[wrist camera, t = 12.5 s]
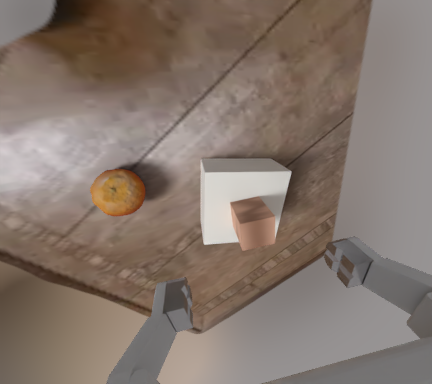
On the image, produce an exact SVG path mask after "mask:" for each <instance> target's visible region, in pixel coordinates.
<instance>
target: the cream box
mask: <svg viewBox="0 0 432 384" xmlns="http://www.w3.org/2000/svg"><path fill="white" fill-rule="evenodd" d="M291 172H292V171H290V170H289V169H287V168H285V167H284V166H282V165H281V164H279V163H277V162H276V161H274V160H273V159H271V158H207V159H201V226H202V234H203V241H204V245H206V244H218V243H231V242H239V240H238V238H237V235H236V232H235V230H234V227H233V222H232V215H231V207H230V202H234V201H239V200H243V199H248V198H253V197H257V196H259V197H260V198H261V199H262V201H263V202H264V203H265V204H266V206H267V207H268V208H269V209H270V210H271V212H272V213H273V214H274V215H275V237H276V233H277V229H278V225H279V221H280V217H281V213H282V209H283V205H284V201H285V197H286V192H287V188H288V184H289V180H290V176H291Z"/></svg>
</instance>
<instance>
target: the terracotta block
mask: <svg viewBox="0 0 432 384" xmlns="http://www.w3.org/2000/svg"><path fill="white" fill-rule="evenodd" d="M230 207H231V215H232V222H233V227H234V230H235V232H236V235H237V238H238V240H239V243H240V245H241V248H242V250H243V251H244V250H249V249H253V248H257V247H262V246H266V245H270V244H274V243H275V215H274V214H273V213H272V212H271V210H270V209H269V208H268V207H267V206H266V204H265V203H264V202H263V201H262V199H261V198H260V197H259V196H257V197H253V198H248V199H243V200H239V201H234V202H230Z"/></svg>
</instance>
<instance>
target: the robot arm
mask: <svg viewBox="0 0 432 384" xmlns="http://www.w3.org/2000/svg"><path fill="white" fill-rule="evenodd" d="M326 248H327V249H328V250H327V251H326V252H325V256H324V258H325V261H326V263H327V265H328V266H329V268H330V269H331V270H333V271H335V272H337V277H338V278H339V279H340V280H341V281H342V283H343V284H344V285H345V286H346V287H347V288H350V287H354V286H358V285H363V286H364V287H366V288H367V289H369V290H371V291H372V292H374V293H376V294H377V295H379V296H381V297H382V298H384V299H386V300H387V301H389V302H391V303H393V304H394V305H396V306H397V307H399V308H401V309H402V310H404V311H406V312H407V313H409V314H411V316H410V318H409V319H408V320H407V325H408V326H409V327H410V328H411V329H412V331H414V333H415V334H416V335H417V336H418V337H419V338H420V339H419V340H415V341H412V342H408V343H405V344H401V345H397V346H394V347H390V348H387V349H384V350H380V351H376V352H373V353H369V354H365V355H362V356H358V357H355V358H351V359H348V360H344V361H341V362H337V363H334V364H330V365H326V366H323V367H319V368H316V369H312V370H309V371H305V372H302V373H298V374H294V375H291V376H287V377H284V378H280V379H277V380H273V381H270V382H266V383H262V384H432V275H430V274H427V273H424V272H422V271H419V270H416V269H414V268H411V267H409V266H406V265H403V264H401V263H398V262H396V261H393V260H390V259H388V258H386V259H384V258H383V257H381V256H380V255H379V254H377V253H376V252H375V251H374V250H372V249H371V248H370V247H369V246H367V245H366V244H365V243H364V242H362V241H361V240H360V239H359V238H357V237H349V238H346V239H340V240H336V241H333V242H329V243H328V244H327V245H326ZM191 306H192V293H191V289H190V286H189V285H188V281H187V278H186V277H184V278H179V279H175V280H170V281H165V282H161V283H158V284H157V286H156V291H155V297H154V303H153V309H152V315H151V317H149V318H148V319H147V320H146V322H145V323H144V325H143V326H142V328H141V329H140V331H139V332H138V334H137V335H136V337H135V338H134V340H133V341H132V343H131V344H130V346H129V347H128V348H127V350H126V352H125V353H124V354H123V356H122V358H121V359H120V360H119V362H118V363H117V365H116V366H115V368H114V369H113V371H112V372H111V374H110V375H109V377H108V380H107V384H160V383H159V382H158V381H157V380H156V379H157V377H158V375H159V373H160V370H161V368H162V366H163V363H164V361H165V359H166V357H167V354H168V352H169V350H170V348H171V345H172V343H173V341H174V339H175V336H176V334H177V333H176V332H179V331H182V330H186V329H190V328H193V313H192V310H191Z"/></svg>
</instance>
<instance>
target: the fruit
mask: <svg viewBox="0 0 432 384" xmlns="http://www.w3.org/2000/svg"><path fill="white" fill-rule="evenodd" d="M90 191H91V194H92V201H93V203H94V204H95V205H96V206H98V207H99V208H100V209H101V210H102V211H103V212H104V213H106V214H107V215H111V216H123V215H128V214H131V213H133V212H135V211H137V210H138V209H139V208H140V207H141V206H142V204H143V201H144V198H145V186H144V184H143V182H142V180H141V179H140V178H139V177H138V176H137V175H136V174H135V173H134V172H132V171H129V170H125V169H114V170H107V171H105V172H103V173H102V174H101V175H100V176H98V177H97V178H96V180H95V181H94V183H93V185H92V186H91V189H90Z"/></svg>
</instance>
